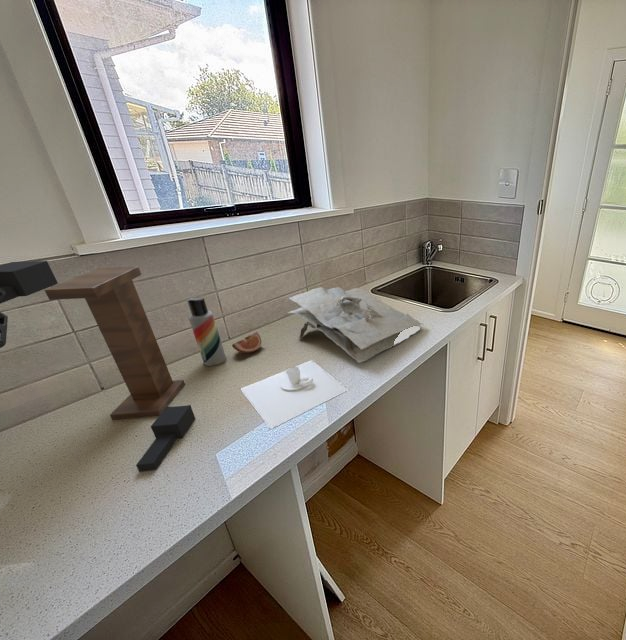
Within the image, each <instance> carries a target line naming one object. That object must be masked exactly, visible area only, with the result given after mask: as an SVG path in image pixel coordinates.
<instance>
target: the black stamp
mask: <svg viewBox="0 0 626 640" xmlns="http://www.w3.org/2000/svg"><path fill="white" fill-rule="evenodd" d="M58 284H59V282H58V281H57V277H56V276H55V274H54V272H53V270H52V268H51V266H50V264H49V262H48V260H33V261H32V260H30V261H29V260H28V261H10V262H6V263H4V264H0V287H1V288H2V289H4V290H5V293H6V294H5V296H4V298H3V299H2V300H1V302H0V304H3V303H6V302H8V301H11V300H13V299H16V298H19V297H28V296H30V295H34V294H35V293H38V292H40V291H43V290H46V289H48V288H51V287H53V286H56V285H58Z"/></svg>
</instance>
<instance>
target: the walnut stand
mask: <svg viewBox="0 0 626 640" xmlns="http://www.w3.org/2000/svg"><path fill="white" fill-rule="evenodd" d="M140 276H142V272H141V270H140V267H139V266H137V265H136V266H111V267H98V268H95V269H92V270H90V271H87V272H85V273H83V274H81V275H78V276H75V277H73V278H71V279H68V280H66V281H63V282H60V283H58V284H56V285H53V286H51V287H48V288H46V289H43V290H44V292H45V295H46V296H47V298H48V300H49V301H54V300H55V301H56V300H77V299H78V300H79V299H80V300H81V299H84V300H85V302H86V305H87V306H88V308H89V310H90V312H91V315H92V316H93V318H94V320H95V323H96V325H97V327H98V329H99V332H100V333H101V335H102V337H103V340H104V341H105V343H106V346H107V348H108V349H109V352H110V354H111V356H112V358H113V360H114V363H115V364H116V367H117V368H118V371H119V373H120V375H121V378H122V379H123V381H124V383H125V386H126V387H127V389H128V391H129V395H128V396H127V397H126V398H125V399H124V400H123V401H122V402H121V403H120V404H119V405H118V406H117V407H116V408H115V409H114V410H113V411H112V412H110V414H109V416H110V418H111V420H113V421H114V420H116V421H117V420H125V419H136V418H146V417H147V418H148V417H157V416H158V417H159V415H160V414H161V413H162V412H163V411H164V409H165V408H166V407H169V406H170V404H171V403H172V402H173V401H174V399H175V398H176V397H177V395H179V393H180V392H181V391H182V389H183V388H184V387H185V386H186V382H185V379H176V380H173V378H172V376H171V374H170V371H169V368H168V366H167V363H166V361H165V358H164V356H163V353H162V350H161V348H160V346H159V344H158V341H157V339H156V336H155V334H154V331H153V328H152V326H151V324H150V321H149V318H148V316H147V314H146V311H145V309H144V307H143V304H142V301H141V299H140V296H139V293H138V291H137V289H136V286H135V284H134V281H133V280H134V279H136V278H138V277H140Z"/></svg>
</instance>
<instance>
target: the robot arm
mask: <svg viewBox="0 0 626 640" xmlns="http://www.w3.org/2000/svg"><path fill="white" fill-rule="evenodd" d="M5 294H6V293H5V290H4V289H2V288H1V287H0V302H1V300H2V299H3V298H4V296H5ZM8 321H9V316H8V315H7V314H6V313H5V314H4V313H3V312H2V311H0V349H2V348H3V347H5V346H6V345H7V336H8V335H7V334H8Z"/></svg>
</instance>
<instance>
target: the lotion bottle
mask: <svg viewBox="0 0 626 640" xmlns="http://www.w3.org/2000/svg"><path fill="white" fill-rule="evenodd" d="M187 305H188V308H189V311H190V315H189V316H188V321H189V325H190V327H191V331H192V333H193V335H194V338H195V341H196V344H197V348H198V351H199V353H200V356H201V359H202V361H203V364H204V365H206V366H208V367H213V366H217V365H220V364H223V363H224V362H225V361H226V359H227V358H226V357H227V356H226V352H225V350H224V346H223V343H222V340H221V339H222V338H221V336H220V333H219V332H220V331H219V330H218V327H217V323H216V319H215V316H214V313H213V312H212V311H211V310H209V309H208V306H207V304H206V300H205V298H204V297H191V298H188V299H187Z"/></svg>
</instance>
